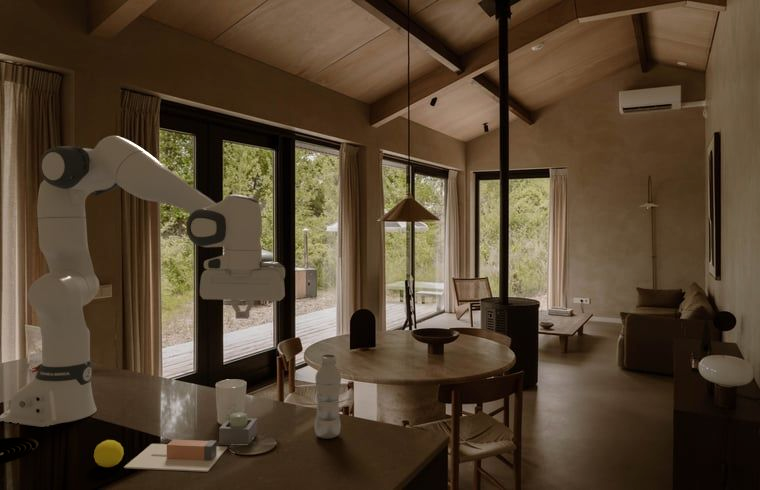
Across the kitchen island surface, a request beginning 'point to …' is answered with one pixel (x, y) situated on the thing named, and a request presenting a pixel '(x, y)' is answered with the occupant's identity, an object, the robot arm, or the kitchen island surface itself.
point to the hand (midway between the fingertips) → (242, 318)
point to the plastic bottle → (327, 398)
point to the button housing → (237, 433)
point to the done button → (238, 420)
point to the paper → (170, 460)
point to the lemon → (108, 453)
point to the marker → (191, 449)
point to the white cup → (230, 398)
